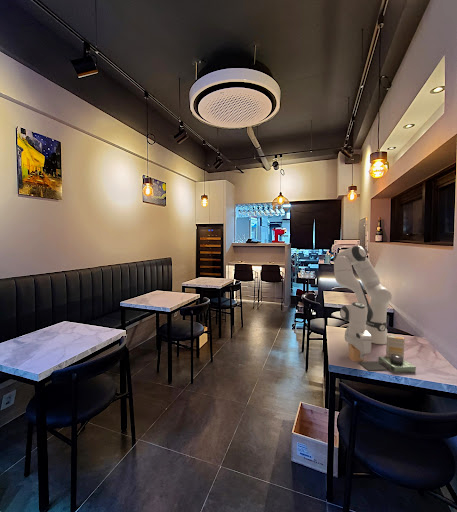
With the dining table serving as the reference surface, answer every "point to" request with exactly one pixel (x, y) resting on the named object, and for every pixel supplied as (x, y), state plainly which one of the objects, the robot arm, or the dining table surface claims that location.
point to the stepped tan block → (354, 353)
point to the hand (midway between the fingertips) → (356, 354)
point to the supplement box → (395, 345)
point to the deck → (397, 364)
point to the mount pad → (373, 366)
